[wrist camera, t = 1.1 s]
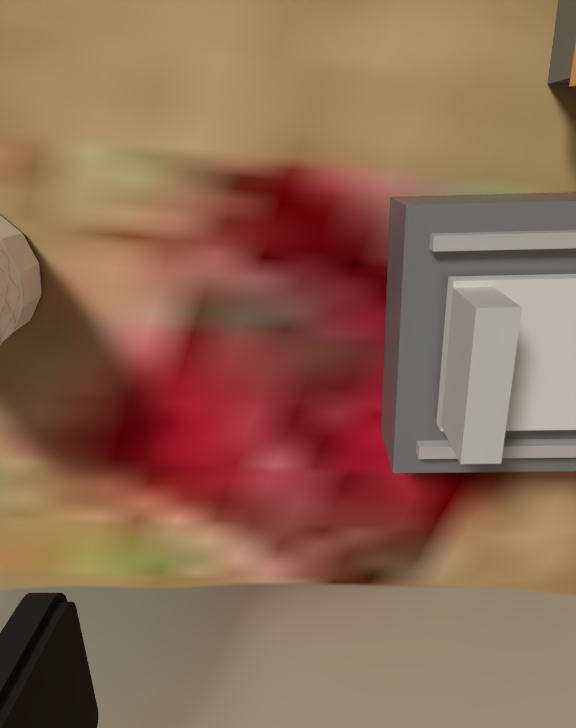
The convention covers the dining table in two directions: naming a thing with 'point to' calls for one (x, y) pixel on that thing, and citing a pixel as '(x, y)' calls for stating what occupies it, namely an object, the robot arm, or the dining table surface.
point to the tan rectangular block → (564, 45)
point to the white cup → (16, 280)
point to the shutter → (506, 360)
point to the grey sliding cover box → (428, 306)
